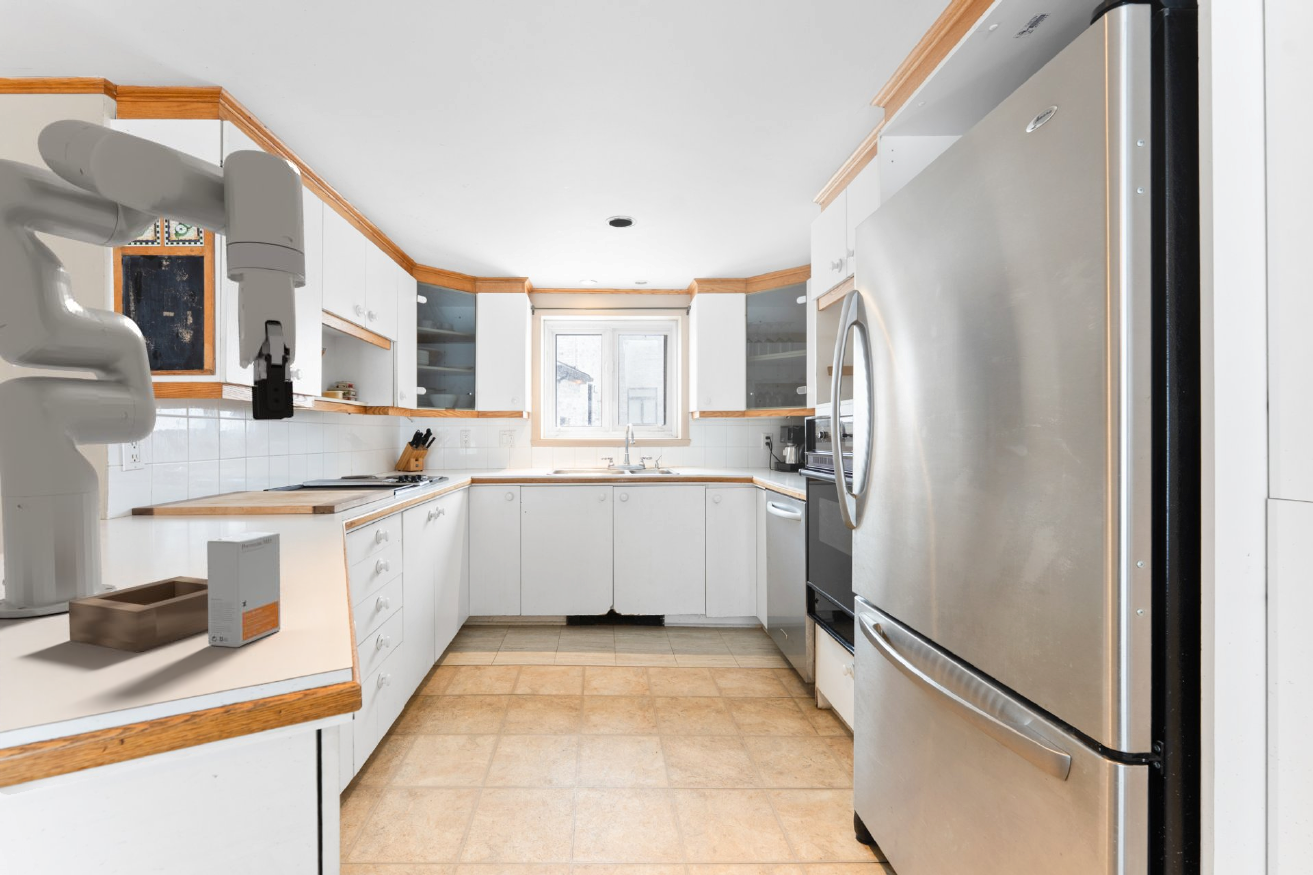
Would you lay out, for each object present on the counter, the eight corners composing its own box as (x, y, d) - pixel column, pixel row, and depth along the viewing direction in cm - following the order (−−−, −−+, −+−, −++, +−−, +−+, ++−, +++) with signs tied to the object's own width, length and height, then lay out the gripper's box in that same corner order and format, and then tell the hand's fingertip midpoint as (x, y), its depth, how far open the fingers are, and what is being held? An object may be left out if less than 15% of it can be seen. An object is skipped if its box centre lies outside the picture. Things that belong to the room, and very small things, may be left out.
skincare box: (239, 648, 66) (236, 542, 66) (207, 646, 67) (204, 540, 67) (283, 630, 72) (281, 531, 72) (253, 627, 73) (251, 530, 73)
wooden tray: (69, 640, 69) (68, 601, 69) (180, 609, 81) (179, 576, 81) (138, 652, 66) (137, 611, 65) (245, 618, 77) (244, 583, 77)
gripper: (224, 280, 73) (229, 420, 73) (228, 243, 59) (235, 417, 59) (296, 287, 77) (300, 419, 77) (315, 255, 63) (321, 416, 64)
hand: (272, 418), depth 68 cm, fingers open, 9 cm apart
